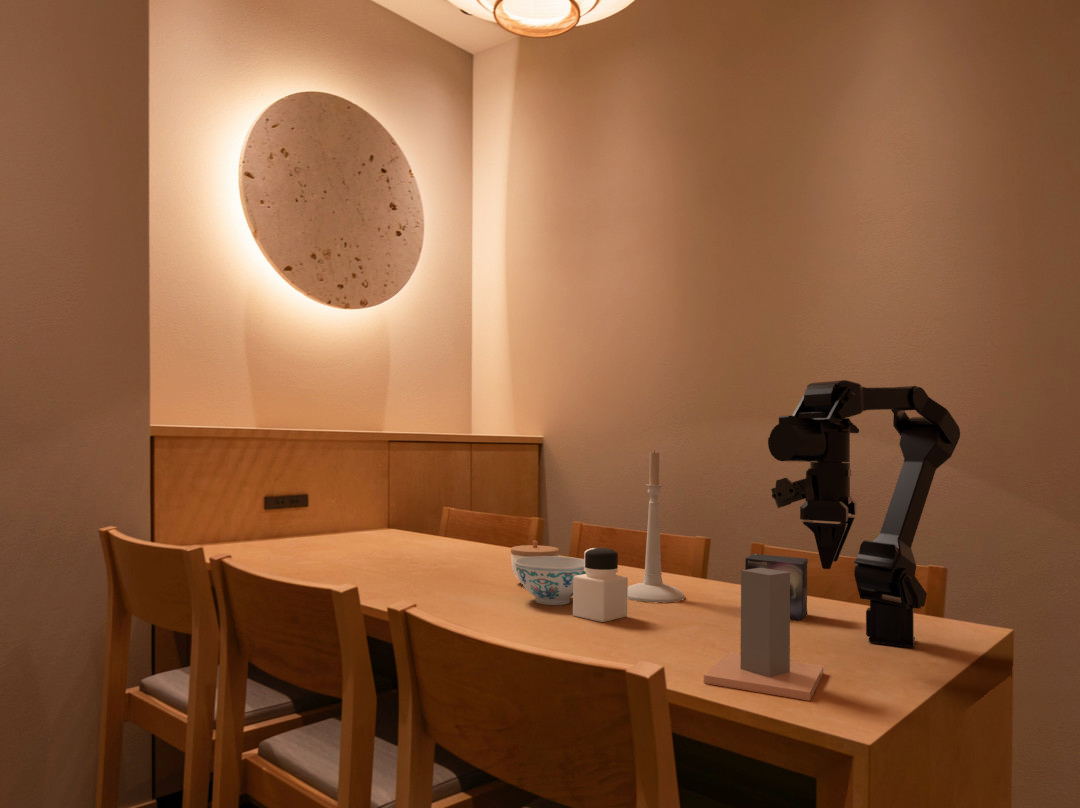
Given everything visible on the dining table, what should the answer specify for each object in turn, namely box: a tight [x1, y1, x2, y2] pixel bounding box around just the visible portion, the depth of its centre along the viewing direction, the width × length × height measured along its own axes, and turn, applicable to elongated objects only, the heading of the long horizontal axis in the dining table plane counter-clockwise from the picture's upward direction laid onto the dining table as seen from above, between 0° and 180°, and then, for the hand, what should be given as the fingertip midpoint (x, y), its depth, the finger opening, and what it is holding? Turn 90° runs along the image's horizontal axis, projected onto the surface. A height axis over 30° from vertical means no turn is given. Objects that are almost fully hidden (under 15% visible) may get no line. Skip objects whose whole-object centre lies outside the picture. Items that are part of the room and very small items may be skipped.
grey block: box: [740, 568, 791, 678], centre depth 99 cm, size 4×4×13 cm
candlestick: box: [627, 450, 685, 603], centre depth 154 cm, size 13×13×30 cm
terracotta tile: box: [703, 651, 824, 702], centre depth 99 cm, size 13×13×1 cm
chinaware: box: [515, 556, 586, 606], centre depth 146 cm, size 15×15×8 cm
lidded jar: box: [510, 540, 560, 585], centre depth 165 cm, size 11×11×9 cm
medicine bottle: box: [572, 547, 629, 623], centre depth 134 cm, size 7×7×12 cm
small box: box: [744, 553, 809, 621], centre depth 139 cm, size 11×6×10 cm, turn 62°
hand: (829, 564), depth 114 cm, fingers open, 9 cm apart
